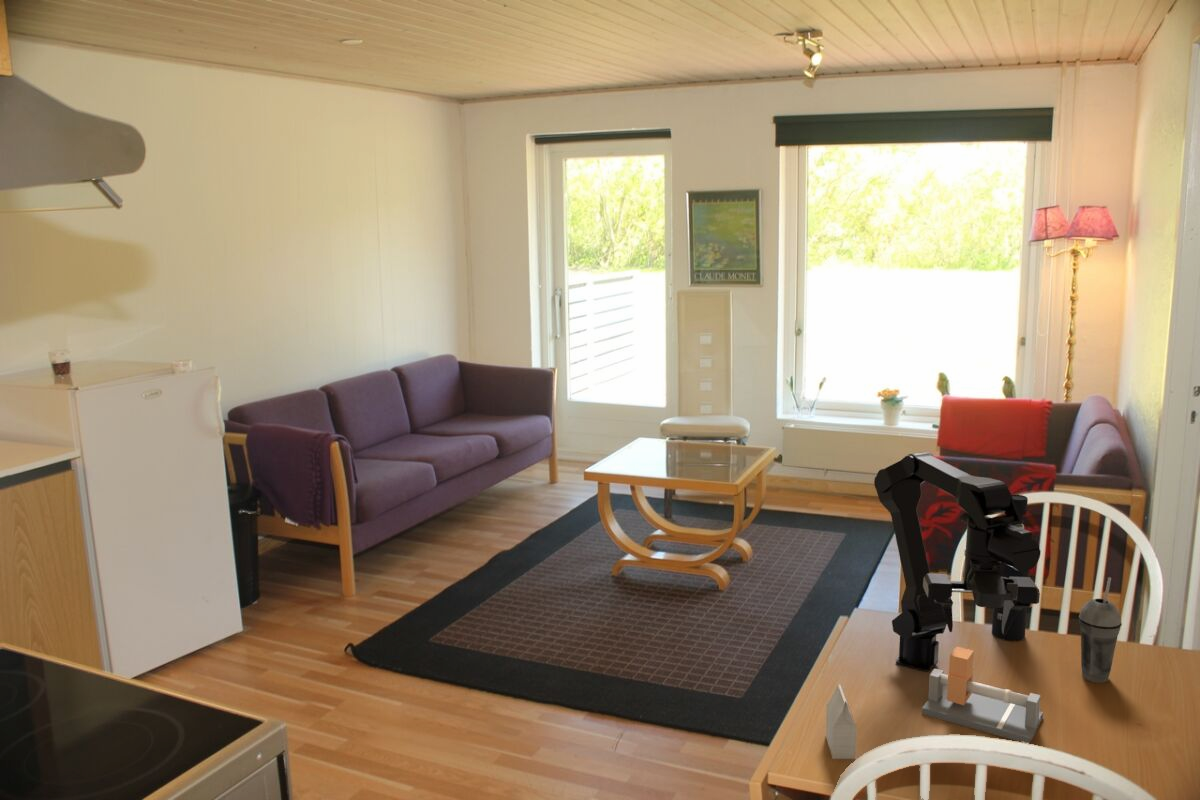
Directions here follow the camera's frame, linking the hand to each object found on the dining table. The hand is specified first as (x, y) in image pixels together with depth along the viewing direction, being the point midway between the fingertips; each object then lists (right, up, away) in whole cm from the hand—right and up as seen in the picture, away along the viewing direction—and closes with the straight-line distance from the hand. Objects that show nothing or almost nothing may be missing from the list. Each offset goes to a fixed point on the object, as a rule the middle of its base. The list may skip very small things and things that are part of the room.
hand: (976, 632), depth 175 cm
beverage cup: (+26, -11, +10) cm, 30 cm away
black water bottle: (+17, -7, +28) cm, 34 cm away
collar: (-3, -11, -1) cm, 12 cm away
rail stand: (0, -14, -3) cm, 14 cm away
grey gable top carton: (-27, -17, -11) cm, 34 cm away
